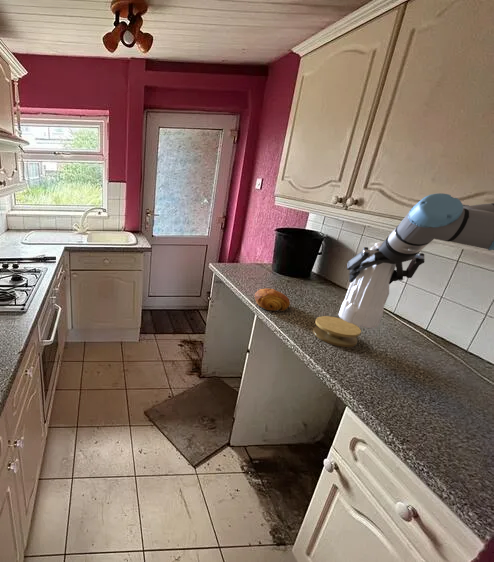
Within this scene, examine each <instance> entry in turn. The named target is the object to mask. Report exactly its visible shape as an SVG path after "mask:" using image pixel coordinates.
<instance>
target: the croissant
mask: <svg viewBox="0 0 494 562" xmlns="http://www.w3.org/2000/svg"><path fill="white" fill-rule="evenodd" d="M254 300H255V302H256V304H257V305H258V306H259V307H260V308H262V309H264V310H266V311H271V312H272V311H275V312H276V311H279V312H282V311H286V310H287V309H288V308H289V307H290V305H291V302H290V299H289V298H288V296H286V295H285V294H284V293H283V292H281V291H278V290H276V289H275V288H267V287H265V288H260V289H258V290H257V291H256V292H255V293H254Z"/></svg>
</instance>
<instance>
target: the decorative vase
mask: <svg viewBox="0 0 494 562" xmlns="http://www.w3.org/2000/svg"><path fill="white" fill-rule="evenodd" d="M381 245H382V242H381V241H376V242H375V243H374V245H372V246H371V247H370V248H369V250H375V249H377V248H379V247H380V246H381ZM371 256H372V255H371ZM394 270H396V264H390V263H382V264H379V265H373V266H370V267H368V268H365V269H363V270H360V274H359V275H358V276H357V277H356V278H355V279H354V280H353V282H350V283H349V285H348V289H347V291H346V294H345V297H344V299H343V301H342V303H341V306H340V309H339V312H338V318H340V319H343V320H344V321H347V322H349V323H353V324H354V325H356V326H358V327H362V328H371V329H372V328H377V327H379V325H380V323H381V320H382V318H383V315H384V308H385V306H386V303H387V300H388V297H389V295H390V284H389V282H390V279H391V277H392V274H393V272H394Z"/></svg>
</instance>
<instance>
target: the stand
mask: <svg viewBox="0 0 494 562" xmlns="http://www.w3.org/2000/svg"><path fill="white" fill-rule="evenodd" d="M315 325H316V326H314V327H313V328H312V334H313V335H314V336H315V338H317V339H318V340H320V341H322V342H325V343H327V344H329V345H333V346H336V347H341V348H353V347H356V346H357V343H358V338H357V337H359V336H361V333H362V330H361V328H360V326H358V325H354V324H353V323H349V322H347V321H344V320H343V319H342V318H340V317H336V316H329V315H323V316H322V315H321V316H318V317H316V319H315Z"/></svg>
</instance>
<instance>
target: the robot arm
mask: <svg viewBox="0 0 494 562" xmlns="http://www.w3.org/2000/svg"><path fill="white" fill-rule="evenodd" d="M433 240H439V241H444V242H450V243H456V244H460V245H465V246H471V247H474V248H478V249H486V250H488V251H494V202H492V203H491V202H490V203H481V204H474V205H469V204H463V203H462V201H461V200H460V199H459V198H458V197H454V196H452V195H451V194H448V193H442V192H441V193H440V192H439V193H432V194H428V195H426V196H424V197H423V198H421V199H420V200H419V201H418V202H416V204H414V205H413V207H411V208H410V209H409V211H408V212H407V214H406V215H405V216H404V218H403V219H402V220H401V221H400V223H398V225H396V227H395V228H394V229H393V230H392V231H391V232H390V233H389V235H388V236H387V237H386V238H385V239H384V241H382V242H381V244H382V245H381V246H380V247H379V248H377V249H375V250H370V249H369V247H367V246H364V247H362V250H361V251H360V252H359V253H357V254H356V255H355V256H354V257H352V258H351V259H350V260H348V261H347V267H346V270H348V271H349V277H348V282H349V283H352V282H353V281H354V279H355V278H356V277H357V276H358V275H359V274H360V270H363V269H365V268H368V267H370V266H373V265H379V264H382V263H390V264H396V267H395V269H394V272H393V274H392V277H391V279H390V282H389V285H391V284H392V283H393V282H398V281H403V280H404V278H405V277H406V279H412V278H413V276H414V274H415V273H416V271H417V270H418V268H419V267H420V266H421V265H422V264H425V259H426V258H425V253H422V252H421V251H422V250H423V249H425V248H426V246H428V245H429V244H430V243H431V242H433ZM420 252H421V253H420ZM371 255H372V256H371ZM405 262H409V264H408V265H407V268H406V269H404V267H403V263H405Z"/></svg>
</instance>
